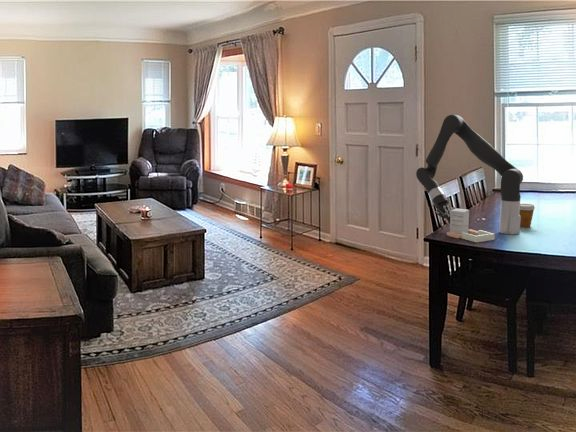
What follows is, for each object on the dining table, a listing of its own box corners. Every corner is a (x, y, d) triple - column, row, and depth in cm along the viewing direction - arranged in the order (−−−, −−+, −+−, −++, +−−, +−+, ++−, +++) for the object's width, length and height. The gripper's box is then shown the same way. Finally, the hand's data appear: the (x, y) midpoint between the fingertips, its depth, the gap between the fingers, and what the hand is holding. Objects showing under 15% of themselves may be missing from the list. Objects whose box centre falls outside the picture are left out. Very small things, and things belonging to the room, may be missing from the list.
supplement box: (454, 231, 292) (456, 208, 290) (468, 233, 288) (469, 209, 285) (449, 234, 287) (450, 210, 284) (463, 235, 282) (464, 211, 280)
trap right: (481, 235, 284) (481, 232, 283) (477, 235, 282) (477, 232, 282) (470, 232, 291) (470, 229, 290) (466, 232, 289) (466, 229, 289)
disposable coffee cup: (536, 226, 302) (537, 204, 300) (529, 229, 296) (531, 207, 293) (518, 224, 309) (520, 202, 307) (511, 226, 302) (513, 205, 300)
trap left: (462, 237, 278) (462, 234, 278) (457, 238, 277) (457, 235, 277) (451, 234, 285) (451, 231, 285) (446, 235, 284) (446, 232, 284)
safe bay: (494, 239, 273) (494, 233, 273) (476, 242, 268) (476, 236, 268) (479, 235, 282) (479, 229, 282) (461, 238, 277) (461, 232, 277)
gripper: (431, 194, 294) (446, 221, 285) (451, 192, 299) (466, 218, 291) (425, 202, 300) (439, 229, 291) (444, 200, 305) (458, 226, 296)
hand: (452, 223), depth 291 cm, fingers closed
